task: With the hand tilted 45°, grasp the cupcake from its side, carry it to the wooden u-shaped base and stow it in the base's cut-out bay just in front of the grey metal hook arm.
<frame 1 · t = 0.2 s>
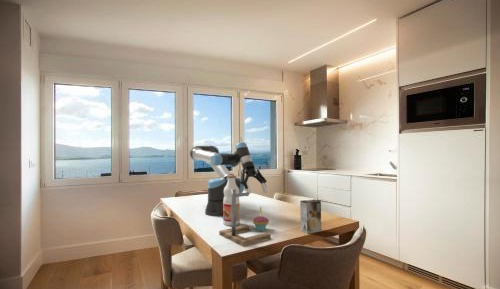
hand: (257, 193, 167), 16 cm above the table, tool tilted 35°, fingers open, 13 cm apart
cupcake: (260, 229, 146), on the table
hook post: (233, 239, 131), resting on wooden u-shaped base
coffee box: (310, 231, 144), on the table
wooden u-shaped base: (244, 236, 135), on the table
fruit juice: (231, 224, 157), on the table
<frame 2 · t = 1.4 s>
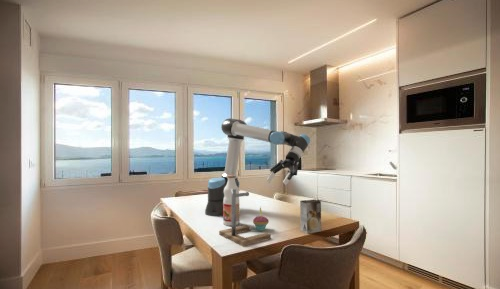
hand: (275, 182, 153), 25 cm above the table, tool tilted 45°, fingers open, 13 cm apart
nothing on the table moved.
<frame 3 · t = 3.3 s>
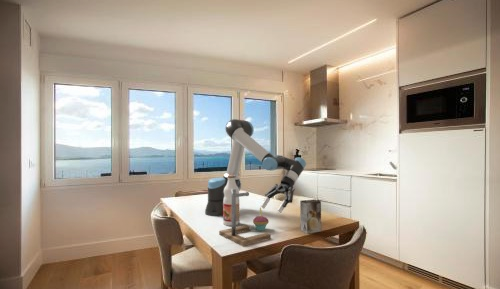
hand: (270, 209, 149), 10 cm above the table, tool tilted 45°, fingers open, 13 cm apart
nothing on the table moved.
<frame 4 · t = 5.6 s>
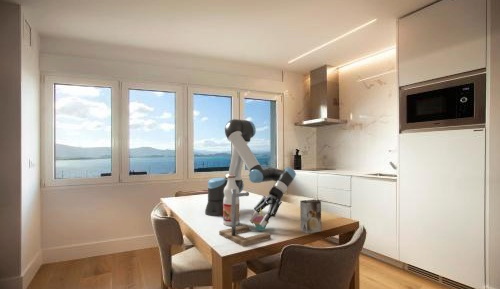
hand: (256, 223, 144), 4 cm above the table, tool tilted 45°, fingers closed on cupcake, 8 cm apart
cupcake: (261, 229, 146), on the table, touching gripper
everything else where it was.
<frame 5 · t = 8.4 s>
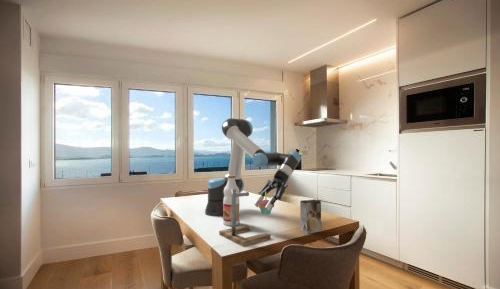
hand: (261, 207, 141), 13 cm above the table, tool tilted 45°, fingers closed on cupcake, 8 cm apart
cupcake: (266, 213, 142), point 9 cm above the table, touching gripper
everything else where it was.
when the fingers open (5 cm above the table, at t = 11.2 s): cupcake drops 1 cm, on the table.
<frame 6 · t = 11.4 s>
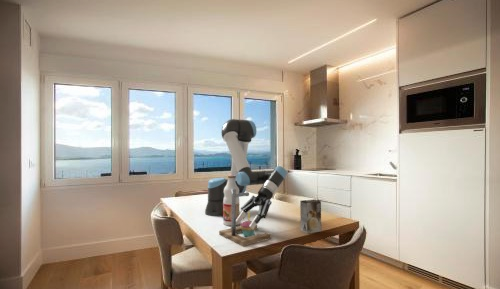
hand: (243, 225, 135), 6 cm above the table, tool tilted 45°, fingers open, 11 cm apart
cupcake: (248, 235, 136), on the table
everything else where it was.
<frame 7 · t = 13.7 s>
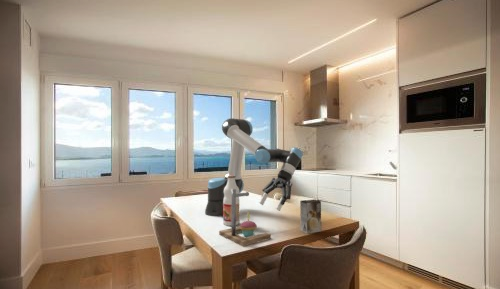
hand: (269, 206, 145), 13 cm above the table, tool tilted 35°, fingers open, 13 cm apart
nothing on the table moved.
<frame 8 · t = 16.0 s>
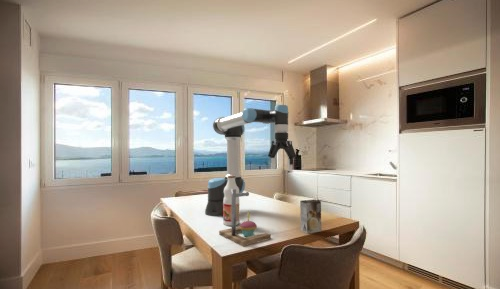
hand: (281, 169, 153), 32 cm above the table, tool pointing down, fingers open, 13 cm apart
nothing on the table moved.
at the end: cupcake inside the target area (0.1 cm from its centre), on the table; cupcake tilted 1°; the gripper is holding nothing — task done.
